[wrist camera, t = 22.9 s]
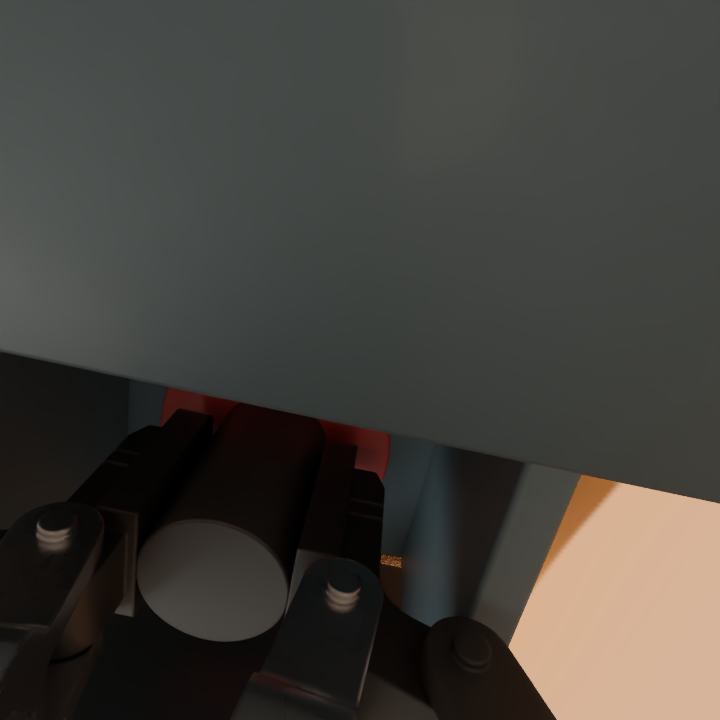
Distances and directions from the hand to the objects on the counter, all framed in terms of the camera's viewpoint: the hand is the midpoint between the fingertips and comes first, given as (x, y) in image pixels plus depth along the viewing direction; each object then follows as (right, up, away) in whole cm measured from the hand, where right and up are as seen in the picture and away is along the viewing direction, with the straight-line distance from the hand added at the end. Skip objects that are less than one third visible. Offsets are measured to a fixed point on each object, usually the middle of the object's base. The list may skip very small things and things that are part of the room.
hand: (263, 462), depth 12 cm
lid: (0, +1, +2) cm, 2 cm away
